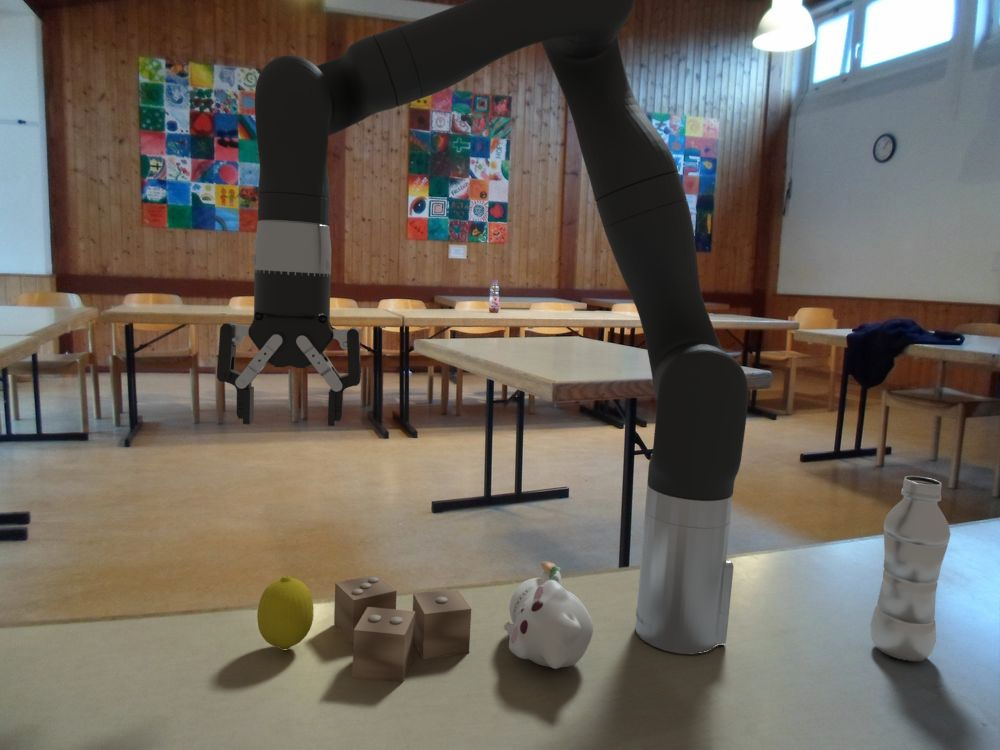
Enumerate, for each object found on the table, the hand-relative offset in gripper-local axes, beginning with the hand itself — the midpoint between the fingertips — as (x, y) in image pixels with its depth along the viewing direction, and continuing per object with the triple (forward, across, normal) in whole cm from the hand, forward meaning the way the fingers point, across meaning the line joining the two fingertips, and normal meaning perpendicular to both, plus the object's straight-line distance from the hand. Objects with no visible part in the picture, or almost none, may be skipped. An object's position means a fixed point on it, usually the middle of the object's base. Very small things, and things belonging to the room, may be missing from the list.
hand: (290, 424), depth 76 cm
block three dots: (+23, -8, 0) cm, 24 cm away
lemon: (+23, 0, +5) cm, 23 cm away
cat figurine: (+23, -28, +7) cm, 37 cm away
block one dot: (+23, -16, +4) cm, 29 cm away
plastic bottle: (+23, -68, +9) cm, 72 cm away
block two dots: (+23, -11, +8) cm, 27 cm away
